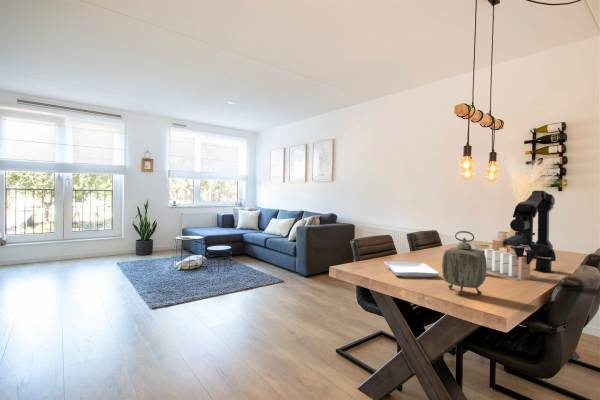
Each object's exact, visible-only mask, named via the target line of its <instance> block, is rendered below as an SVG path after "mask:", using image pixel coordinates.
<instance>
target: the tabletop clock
mask: <svg viewBox="0 0 600 400" xmlns="http://www.w3.org/2000/svg"><path fill="white" fill-rule="evenodd" d="M463 233H465V234H468V235H471V237H472V238H471V239H468V240H467V239H466V238H465V237H463V238H462V239H461V238H458V237H457V235H459V234H463ZM454 237H455V239H456V240H458V241H460V242H459V243H458V244H457V246H455V247H454V246H453V247H451V248H449V249H446V250H444V253H443V255H442V262H441V268H442V270H441V271H442V272H441V273H442V277H443V281H445V282H446V283H448V284H449V285H448V286H447V287H448V289H450V290H452V289H453V288H454V287H453V286H457V287H460V290H459V291H458V294H459V296H460V295H462V296H463V295H464V291H463V289H464V288H469V289H475V290H476V295H479V296H481V295H482V291H481V290H479V288H480V287H481V286H482V285H483V284H484V282H485V280H486V276H487V271H486V270H487V265H486V257H485V251H484V252H483V251H482V250H479V249H477V248H476V249H471V244H470V243H469V242H473V241H475V234H473V233H472V232H470V231H468V230H461V231H457V232H456V233H455V234H454Z"/></svg>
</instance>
